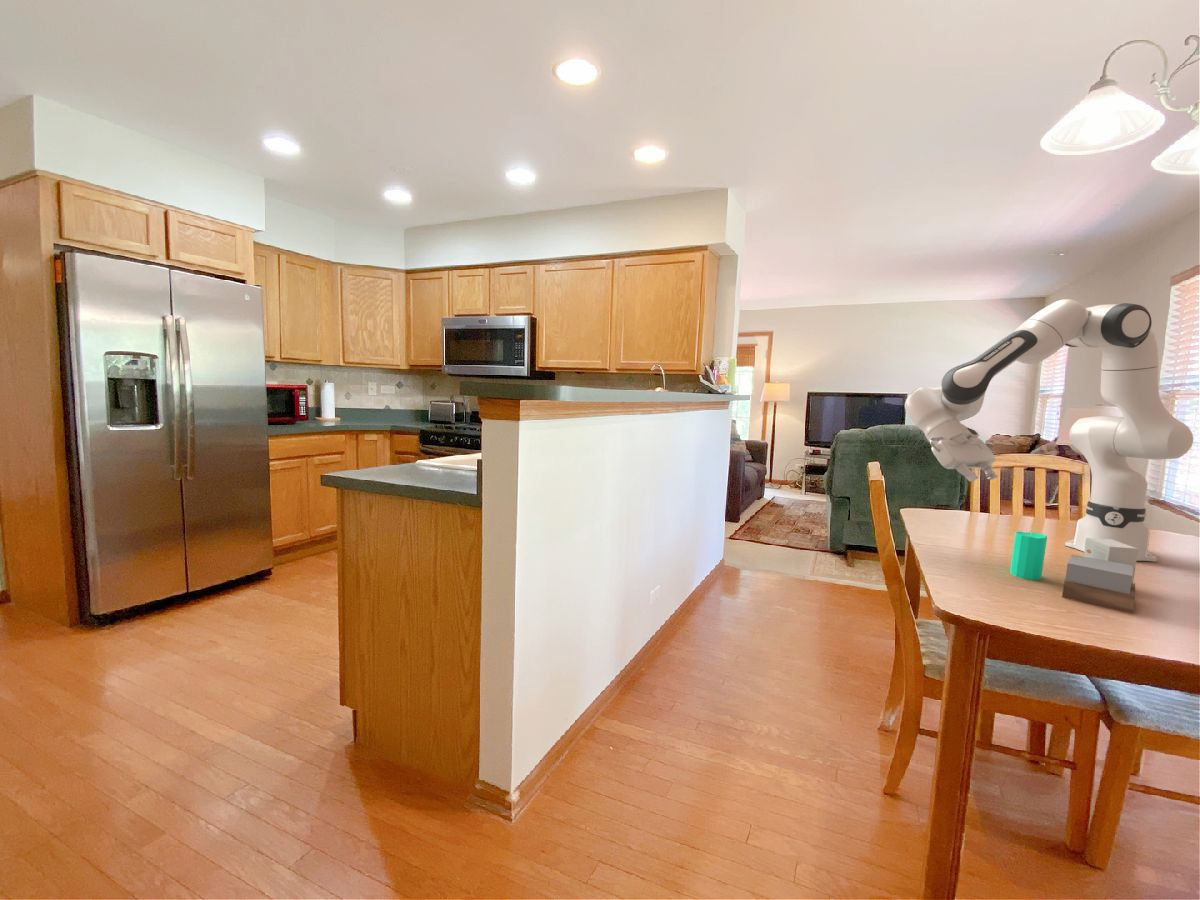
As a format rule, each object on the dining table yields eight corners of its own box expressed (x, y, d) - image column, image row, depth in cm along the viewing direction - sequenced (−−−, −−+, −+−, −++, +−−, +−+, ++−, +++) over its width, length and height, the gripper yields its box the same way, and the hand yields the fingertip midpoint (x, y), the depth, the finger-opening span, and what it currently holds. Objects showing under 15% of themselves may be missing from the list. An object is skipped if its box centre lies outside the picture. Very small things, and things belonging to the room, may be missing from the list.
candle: (1042, 576, 129) (1049, 528, 127) (1039, 582, 124) (1046, 532, 123) (1011, 569, 133) (1017, 523, 131) (1008, 575, 129) (1014, 527, 127)
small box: (1132, 593, 119) (1139, 548, 118) (1103, 591, 120) (1110, 546, 119) (1106, 581, 127) (1112, 538, 125) (1079, 578, 128) (1085, 536, 126)
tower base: (1065, 586, 123) (1068, 570, 123) (1132, 601, 115) (1135, 583, 115) (1061, 598, 115) (1064, 581, 115) (1132, 615, 108) (1135, 596, 107)
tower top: (1069, 570, 122) (1072, 554, 122) (1130, 583, 115) (1133, 565, 114) (1065, 580, 115) (1067, 563, 115) (1129, 594, 108) (1132, 575, 108)
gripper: (936, 430, 136) (972, 473, 129) (979, 430, 146) (1015, 471, 138) (917, 445, 141) (951, 488, 133) (960, 444, 150) (994, 484, 143)
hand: (984, 479), depth 136 cm, fingers open, 8 cm apart
